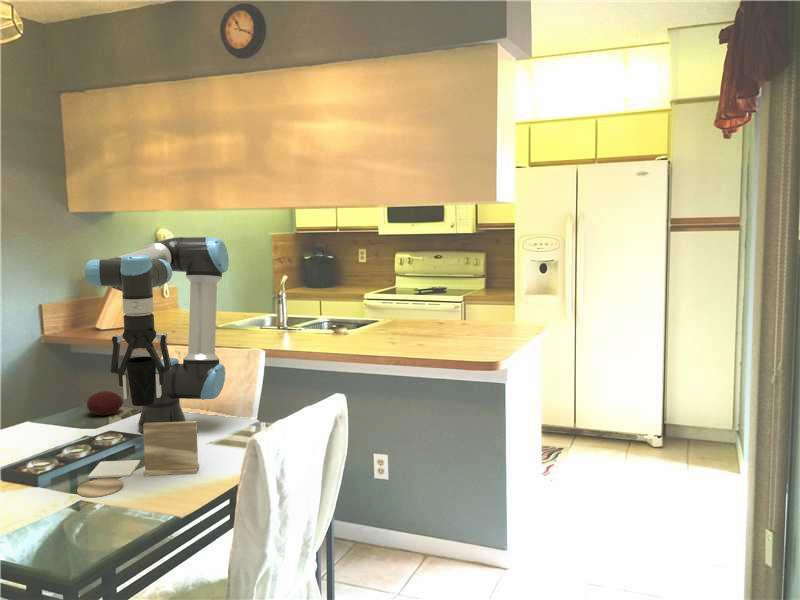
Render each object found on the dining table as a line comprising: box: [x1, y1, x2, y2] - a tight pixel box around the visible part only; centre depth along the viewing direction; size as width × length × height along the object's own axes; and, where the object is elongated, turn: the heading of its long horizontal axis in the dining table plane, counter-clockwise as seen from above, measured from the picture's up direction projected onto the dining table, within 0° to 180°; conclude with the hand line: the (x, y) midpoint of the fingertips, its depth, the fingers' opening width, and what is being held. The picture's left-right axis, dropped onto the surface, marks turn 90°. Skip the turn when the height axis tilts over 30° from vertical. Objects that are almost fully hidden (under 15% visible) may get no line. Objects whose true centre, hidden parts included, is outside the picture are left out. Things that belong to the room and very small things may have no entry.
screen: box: [143, 420, 200, 477], centre depth 183 cm, size 5×14×14 cm, turn 98°
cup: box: [126, 356, 156, 407], centre depth 176 cm, size 8×8×12 cm
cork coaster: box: [76, 477, 124, 498], centre depth 171 cm, size 11×11×1 cm
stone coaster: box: [87, 459, 141, 479], centre depth 184 cm, size 11×11×1 cm
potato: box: [86, 390, 124, 417], centre depth 236 cm, size 12×11×8 cm
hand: (142, 396), depth 177 cm, fingers closed on cup, 8 cm apart
